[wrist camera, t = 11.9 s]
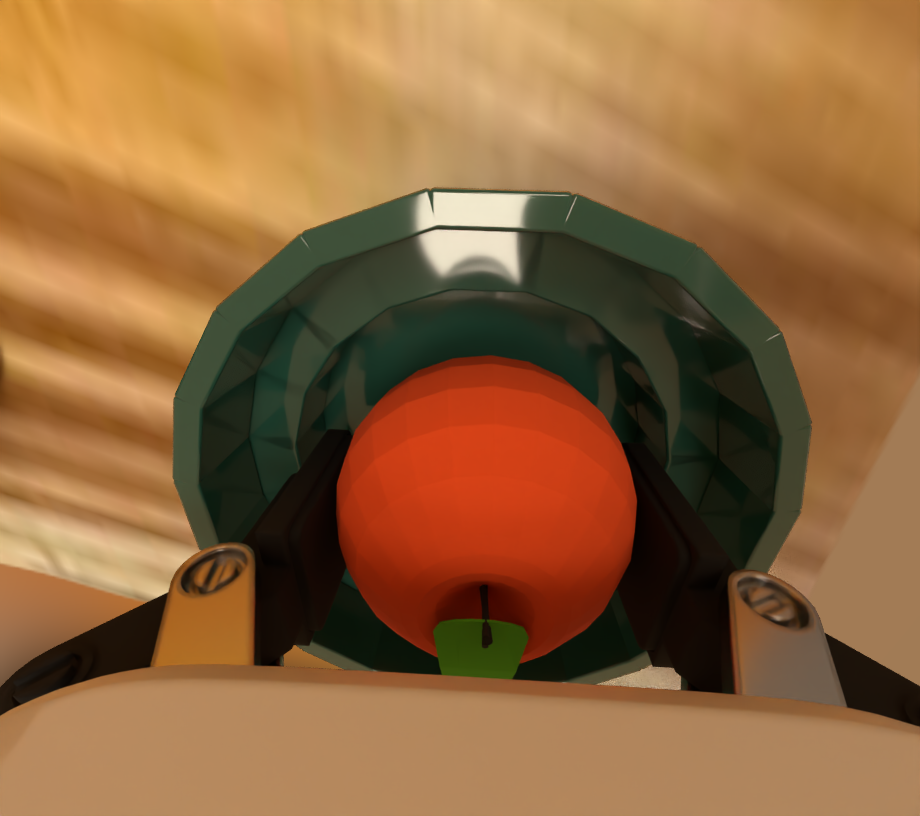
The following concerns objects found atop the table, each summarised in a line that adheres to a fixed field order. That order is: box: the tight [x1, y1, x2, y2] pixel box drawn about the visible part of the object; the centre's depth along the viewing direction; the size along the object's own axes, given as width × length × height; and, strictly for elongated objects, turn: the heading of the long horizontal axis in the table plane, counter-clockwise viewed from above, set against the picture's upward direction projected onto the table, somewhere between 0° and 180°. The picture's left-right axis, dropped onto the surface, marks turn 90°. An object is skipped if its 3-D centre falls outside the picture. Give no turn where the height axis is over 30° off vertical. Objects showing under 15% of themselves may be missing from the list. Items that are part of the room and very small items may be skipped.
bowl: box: [173, 187, 812, 685], centre depth 11 cm, size 14×14×5 cm
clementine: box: [336, 355, 637, 679], centre depth 10 cm, size 8×7×7 cm
